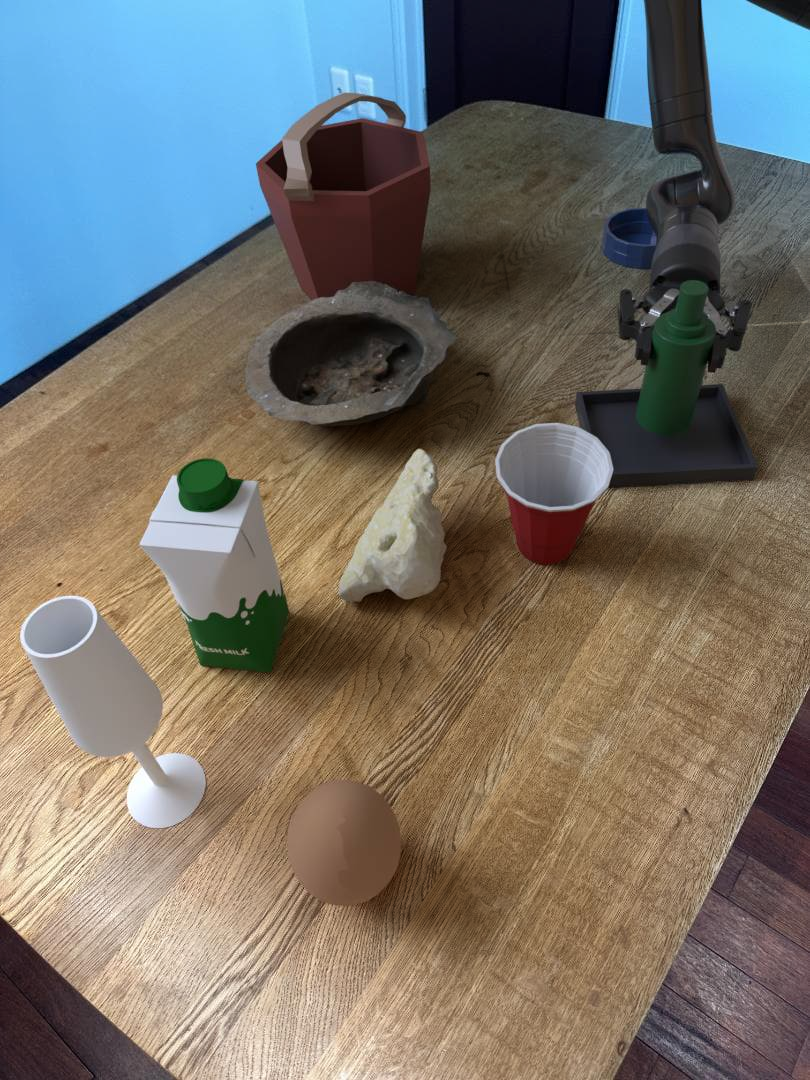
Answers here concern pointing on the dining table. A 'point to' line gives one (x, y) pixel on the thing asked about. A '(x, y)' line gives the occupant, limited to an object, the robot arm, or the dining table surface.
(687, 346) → the bottle
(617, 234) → the bowl
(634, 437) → the tray
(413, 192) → the bucket
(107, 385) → the dining table surface
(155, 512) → the milk carton
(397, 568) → the cheese
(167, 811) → the champagne flute
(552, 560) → the plastic cup
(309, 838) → the egg
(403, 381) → the stone bowl
